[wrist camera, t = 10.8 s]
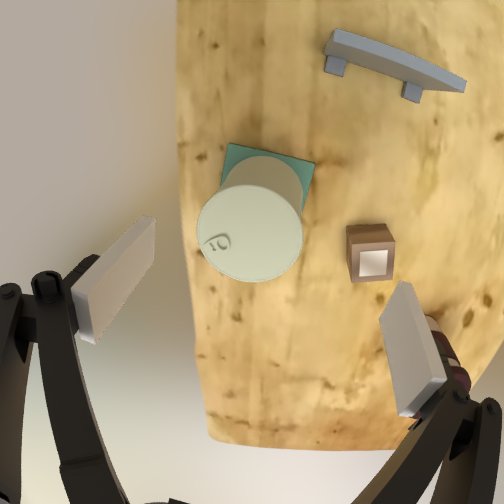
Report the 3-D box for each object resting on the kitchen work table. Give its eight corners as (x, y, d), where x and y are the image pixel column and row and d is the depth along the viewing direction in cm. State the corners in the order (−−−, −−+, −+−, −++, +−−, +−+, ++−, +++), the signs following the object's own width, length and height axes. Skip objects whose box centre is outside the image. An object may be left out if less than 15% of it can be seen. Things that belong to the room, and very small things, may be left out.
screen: (328, 30, 28) (340, 8, 19) (429, 66, 27) (470, 62, 19) (319, 70, 30) (328, 62, 21) (420, 104, 30) (459, 112, 21)
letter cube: (346, 225, 38) (352, 245, 34) (385, 223, 37) (395, 242, 33) (346, 261, 41) (351, 283, 36) (383, 258, 40) (392, 280, 35)
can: (212, 169, 36) (177, 204, 26) (289, 145, 34) (285, 171, 24) (239, 238, 40) (217, 294, 30) (311, 219, 38) (315, 273, 27)
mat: (229, 142, 35) (228, 143, 35) (315, 163, 35) (315, 164, 35) (215, 220, 40) (214, 222, 40) (293, 239, 40) (293, 241, 40)
